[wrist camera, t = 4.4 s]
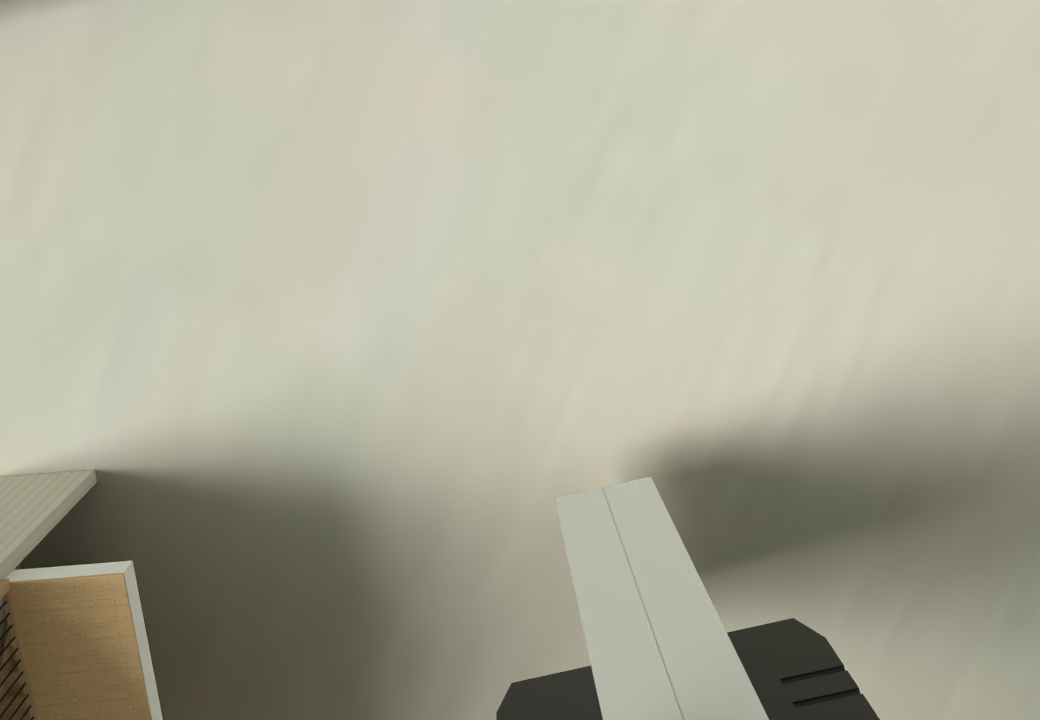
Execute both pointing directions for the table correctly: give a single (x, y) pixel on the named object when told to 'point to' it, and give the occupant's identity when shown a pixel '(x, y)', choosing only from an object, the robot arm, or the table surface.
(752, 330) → the table surface
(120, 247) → the table surface
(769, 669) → the robot arm
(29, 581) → the architectural model
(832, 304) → the table surface
